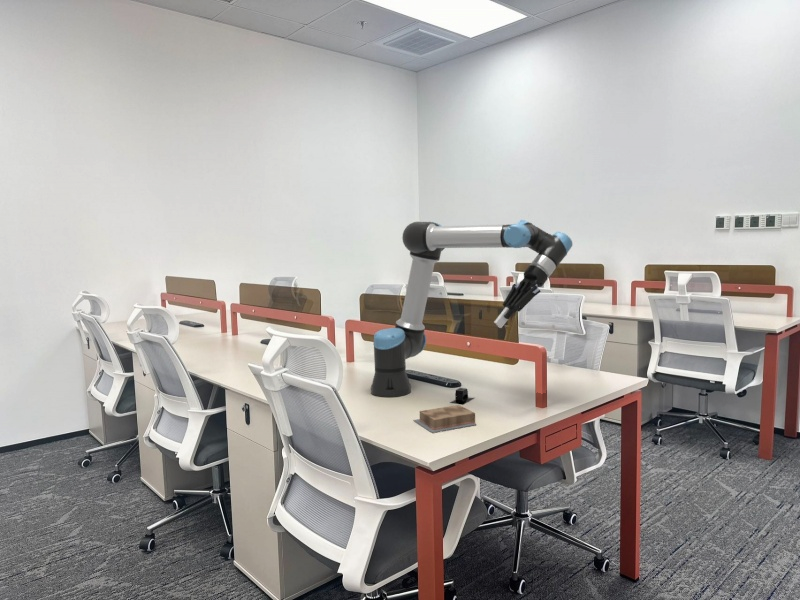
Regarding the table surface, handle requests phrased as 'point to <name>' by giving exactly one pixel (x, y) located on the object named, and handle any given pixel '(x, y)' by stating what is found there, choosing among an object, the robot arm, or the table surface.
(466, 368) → the table surface
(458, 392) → the black notched bracket mount
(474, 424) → the felt mat
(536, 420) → the table surface
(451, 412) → the mottled brown tile
